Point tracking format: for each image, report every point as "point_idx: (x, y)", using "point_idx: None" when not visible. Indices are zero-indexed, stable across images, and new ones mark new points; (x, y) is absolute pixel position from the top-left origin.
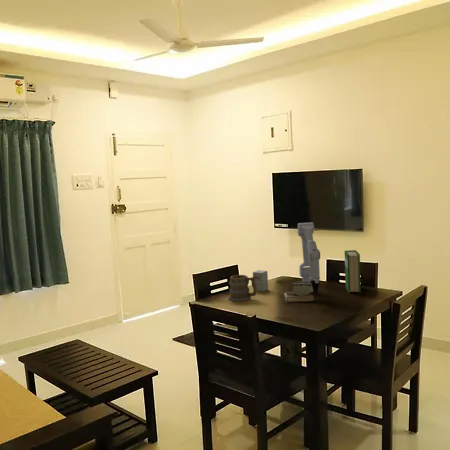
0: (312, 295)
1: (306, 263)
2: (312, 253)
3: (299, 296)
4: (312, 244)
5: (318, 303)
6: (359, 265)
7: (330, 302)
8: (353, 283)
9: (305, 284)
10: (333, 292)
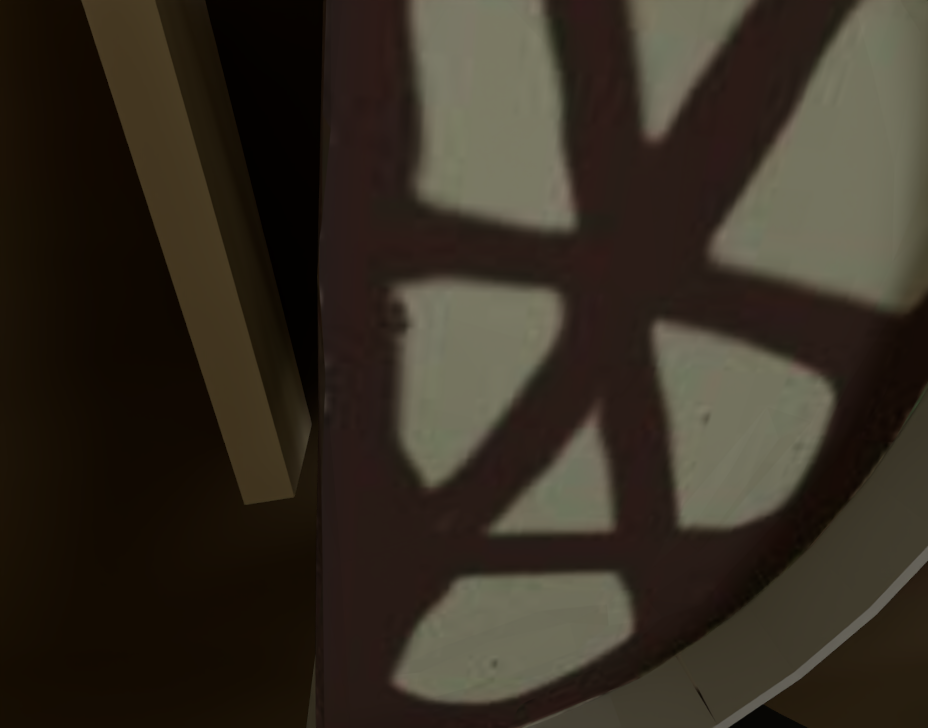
0: (268, 484)
1: None
2: None
3: (103, 56)
4: None
5: (16, 530)
6: None
7: (148, 712)
8: None
9: (327, 521)
10: (875, 720)
